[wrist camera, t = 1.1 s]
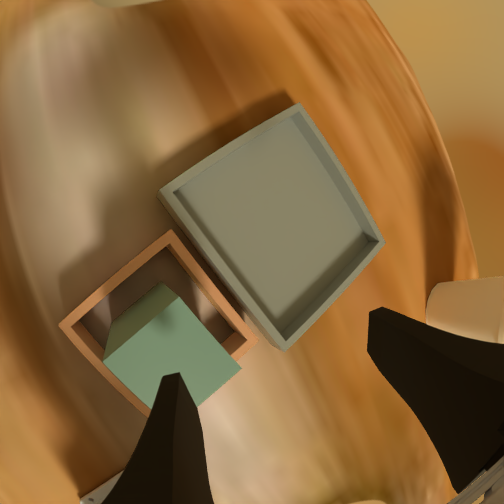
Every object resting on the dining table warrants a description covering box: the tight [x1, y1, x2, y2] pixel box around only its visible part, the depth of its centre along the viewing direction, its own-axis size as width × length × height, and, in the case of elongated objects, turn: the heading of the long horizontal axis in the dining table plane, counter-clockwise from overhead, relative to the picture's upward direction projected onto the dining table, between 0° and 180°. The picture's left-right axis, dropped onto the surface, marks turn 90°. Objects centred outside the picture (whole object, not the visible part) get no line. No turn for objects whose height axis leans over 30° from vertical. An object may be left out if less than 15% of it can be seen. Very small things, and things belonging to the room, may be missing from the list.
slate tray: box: [157, 102, 386, 352], centre depth 22 cm, size 13×14×2 cm
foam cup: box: [426, 276, 504, 344], centre depth 26 cm, size 10×9×13 cm
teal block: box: [103, 281, 242, 409], centre depth 16 cm, size 4×4×8 cm
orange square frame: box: [58, 229, 259, 418], centre depth 19 cm, size 9×9×2 cm
